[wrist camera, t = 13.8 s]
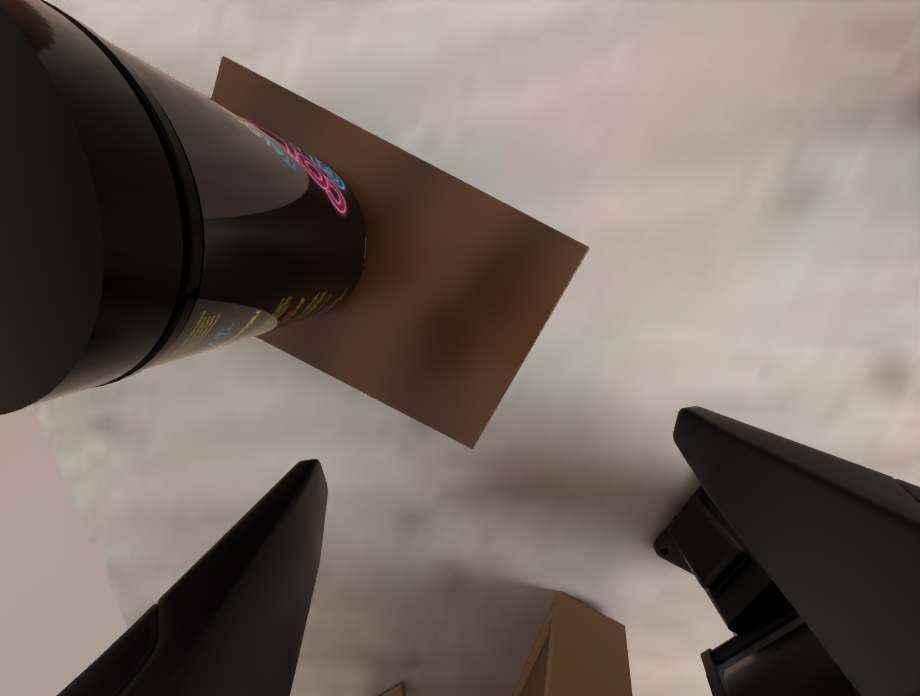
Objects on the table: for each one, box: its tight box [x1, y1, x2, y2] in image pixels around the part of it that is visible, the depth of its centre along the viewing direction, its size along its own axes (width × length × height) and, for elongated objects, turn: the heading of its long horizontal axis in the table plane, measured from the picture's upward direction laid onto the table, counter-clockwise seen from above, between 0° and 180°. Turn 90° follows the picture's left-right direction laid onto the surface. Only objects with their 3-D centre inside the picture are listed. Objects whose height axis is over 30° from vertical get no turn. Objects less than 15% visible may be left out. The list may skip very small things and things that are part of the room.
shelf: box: [211, 56, 589, 449], centre depth 18 cm, size 16×10×6 cm, turn 63°
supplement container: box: [0, 0, 367, 415], centre depth 10 cm, size 7×7×10 cm
